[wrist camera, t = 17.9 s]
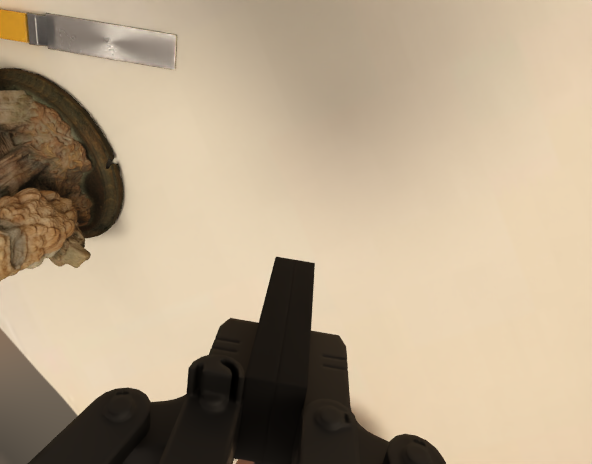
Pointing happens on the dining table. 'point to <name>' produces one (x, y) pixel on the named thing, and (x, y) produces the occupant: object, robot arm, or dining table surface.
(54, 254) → the beige stone figure
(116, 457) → the robot arm
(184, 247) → the dining table surface
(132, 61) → the yellow handled chisel
